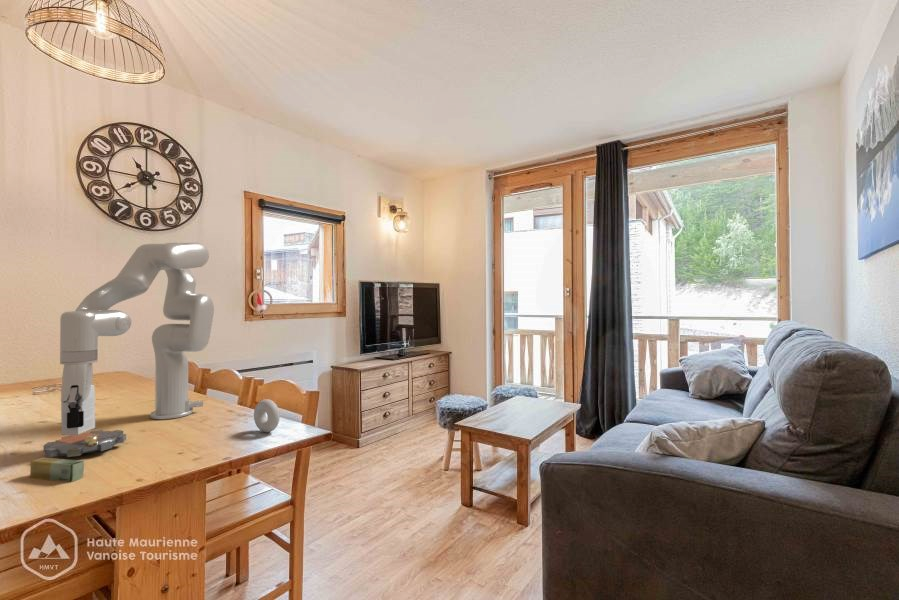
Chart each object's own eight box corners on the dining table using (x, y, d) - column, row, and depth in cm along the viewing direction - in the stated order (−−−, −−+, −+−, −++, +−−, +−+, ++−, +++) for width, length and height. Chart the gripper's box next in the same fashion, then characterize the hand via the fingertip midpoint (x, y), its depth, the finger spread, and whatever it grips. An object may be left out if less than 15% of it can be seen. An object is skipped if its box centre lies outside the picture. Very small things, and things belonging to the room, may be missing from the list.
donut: (282, 433, 125) (282, 400, 125) (272, 436, 122) (272, 402, 122) (261, 427, 130) (261, 396, 130) (251, 430, 127) (251, 398, 127)
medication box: (84, 478, 94) (85, 460, 94) (71, 483, 91) (72, 464, 91) (42, 473, 96) (43, 456, 96) (28, 478, 93) (29, 460, 93)
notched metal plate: (101, 432, 120) (101, 420, 120) (139, 439, 114) (140, 426, 114) (28, 452, 105) (28, 437, 105) (68, 461, 99) (68, 446, 99)
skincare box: (78, 428, 113) (79, 384, 113) (95, 428, 114) (95, 384, 114) (60, 435, 107) (60, 389, 107) (77, 435, 108) (77, 389, 108)
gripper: (68, 354, 116) (67, 417, 116) (50, 362, 101) (50, 435, 101) (103, 352, 120) (102, 414, 120) (91, 360, 105) (90, 430, 105)
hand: (78, 423), depth 110 cm, fingers closed on skincare box, 7 cm apart
